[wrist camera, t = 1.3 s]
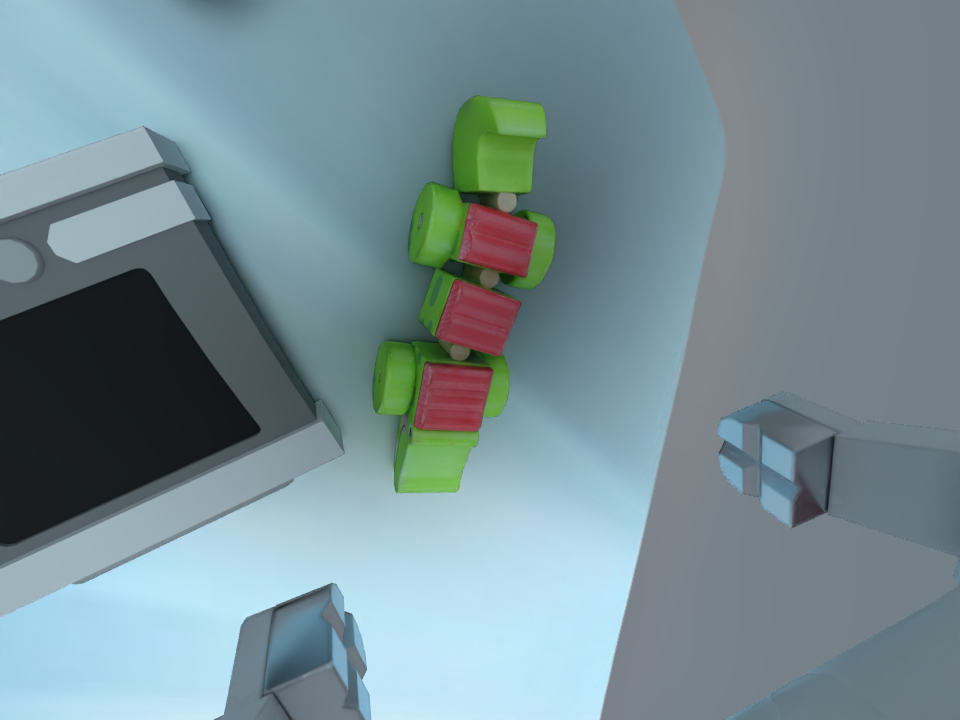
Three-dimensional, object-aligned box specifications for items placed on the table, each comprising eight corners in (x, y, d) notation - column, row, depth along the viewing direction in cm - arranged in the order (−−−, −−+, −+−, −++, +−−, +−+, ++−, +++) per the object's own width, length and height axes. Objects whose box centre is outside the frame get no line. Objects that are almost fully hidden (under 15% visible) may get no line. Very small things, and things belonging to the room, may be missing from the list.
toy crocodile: (459, 469, 29) (490, 534, 24) (351, 460, 27) (358, 530, 21) (556, 138, 24) (624, 124, 19) (435, 90, 22) (472, 58, 16)
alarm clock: (143, 126, 16) (349, 486, 22) (184, 147, 21) (347, 444, 26) (-437, 323, 14) (-37, 674, 20) (-254, 301, 18) (31, 594, 24)
